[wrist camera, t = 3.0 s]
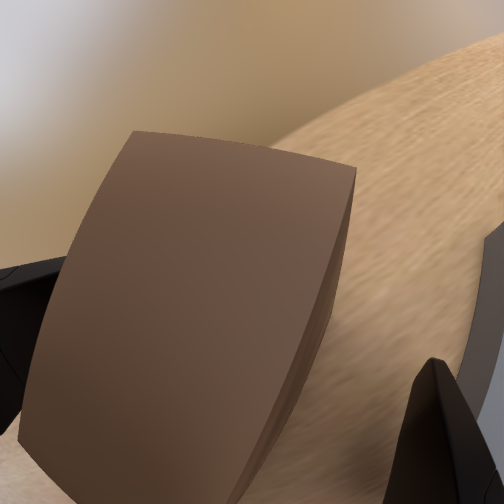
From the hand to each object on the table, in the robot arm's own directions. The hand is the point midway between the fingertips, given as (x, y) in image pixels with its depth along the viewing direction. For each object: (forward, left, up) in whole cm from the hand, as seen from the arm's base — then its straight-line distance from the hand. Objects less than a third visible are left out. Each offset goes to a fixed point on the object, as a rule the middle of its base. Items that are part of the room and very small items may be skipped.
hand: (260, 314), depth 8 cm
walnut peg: (-1, 0, -7) cm, 7 cm away
